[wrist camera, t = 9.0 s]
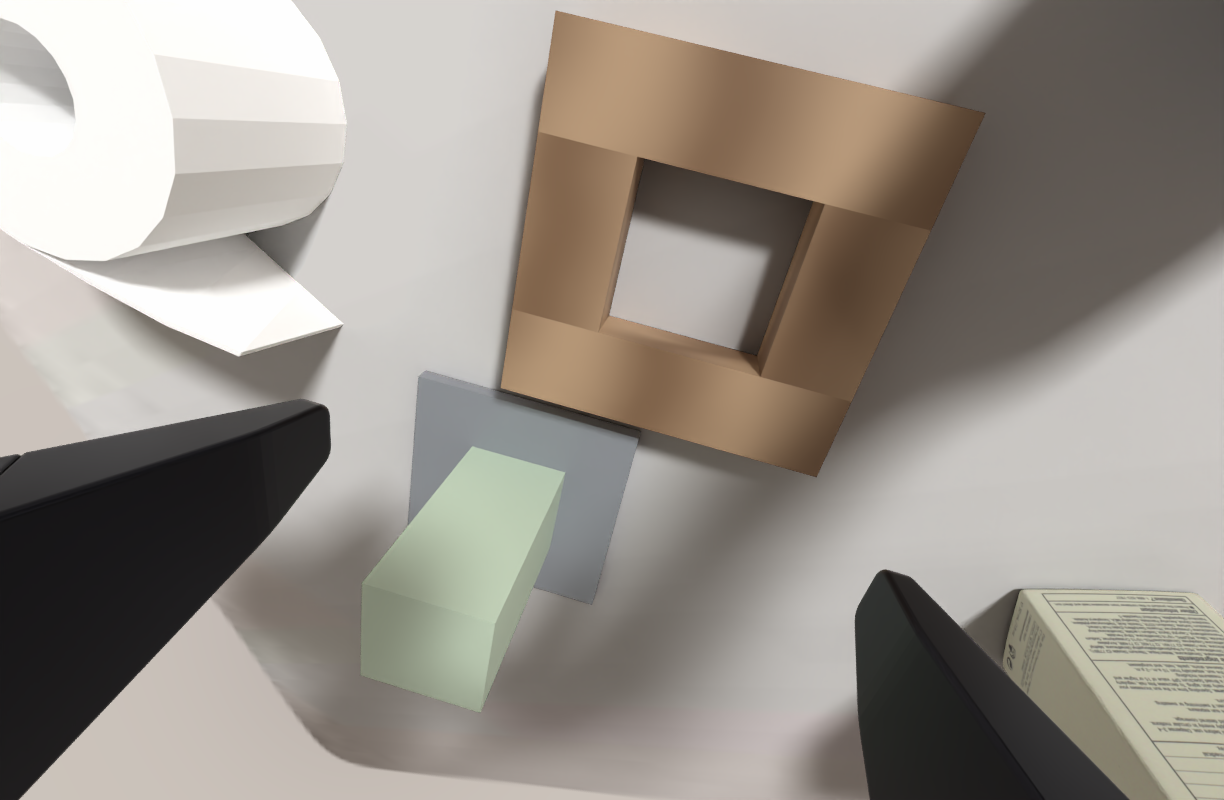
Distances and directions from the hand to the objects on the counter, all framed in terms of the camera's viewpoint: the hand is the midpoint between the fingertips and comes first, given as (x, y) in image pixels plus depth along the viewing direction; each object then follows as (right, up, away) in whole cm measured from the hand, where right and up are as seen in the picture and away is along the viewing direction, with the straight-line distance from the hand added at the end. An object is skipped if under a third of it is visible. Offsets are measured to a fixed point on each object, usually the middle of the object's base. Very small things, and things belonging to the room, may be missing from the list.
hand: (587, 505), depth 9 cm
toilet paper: (-13, +10, +12) cm, 20 cm away
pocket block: (+4, +6, +10) cm, 13 cm away
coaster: (-4, -2, +16) cm, 16 cm away
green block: (-4, -2, +15) cm, 16 cm away
